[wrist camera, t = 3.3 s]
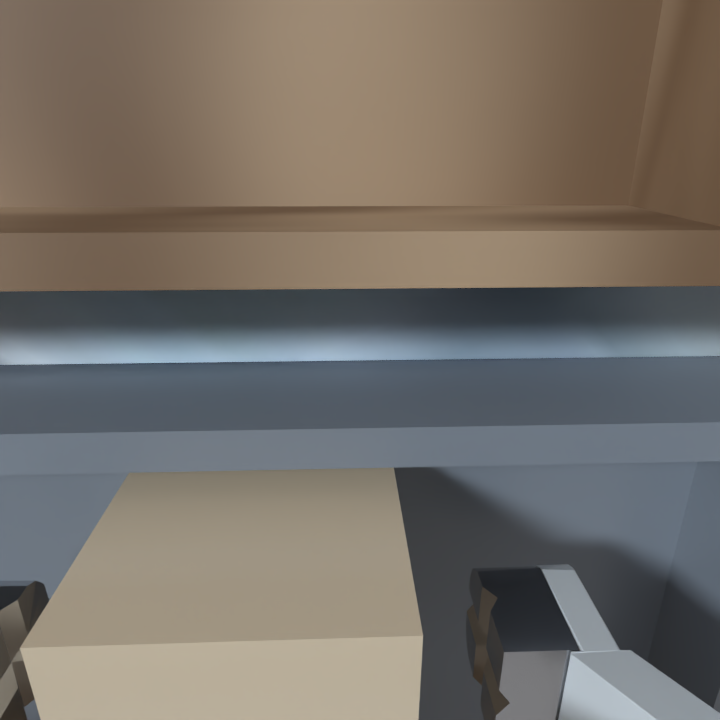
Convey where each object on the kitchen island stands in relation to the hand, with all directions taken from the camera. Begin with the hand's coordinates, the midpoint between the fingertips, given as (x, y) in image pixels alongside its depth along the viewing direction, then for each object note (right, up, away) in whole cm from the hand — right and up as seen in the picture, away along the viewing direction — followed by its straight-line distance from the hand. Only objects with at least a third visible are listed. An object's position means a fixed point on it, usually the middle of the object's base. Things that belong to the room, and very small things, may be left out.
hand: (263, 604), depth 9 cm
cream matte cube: (0, +1, +1) cm, 1 cm away
